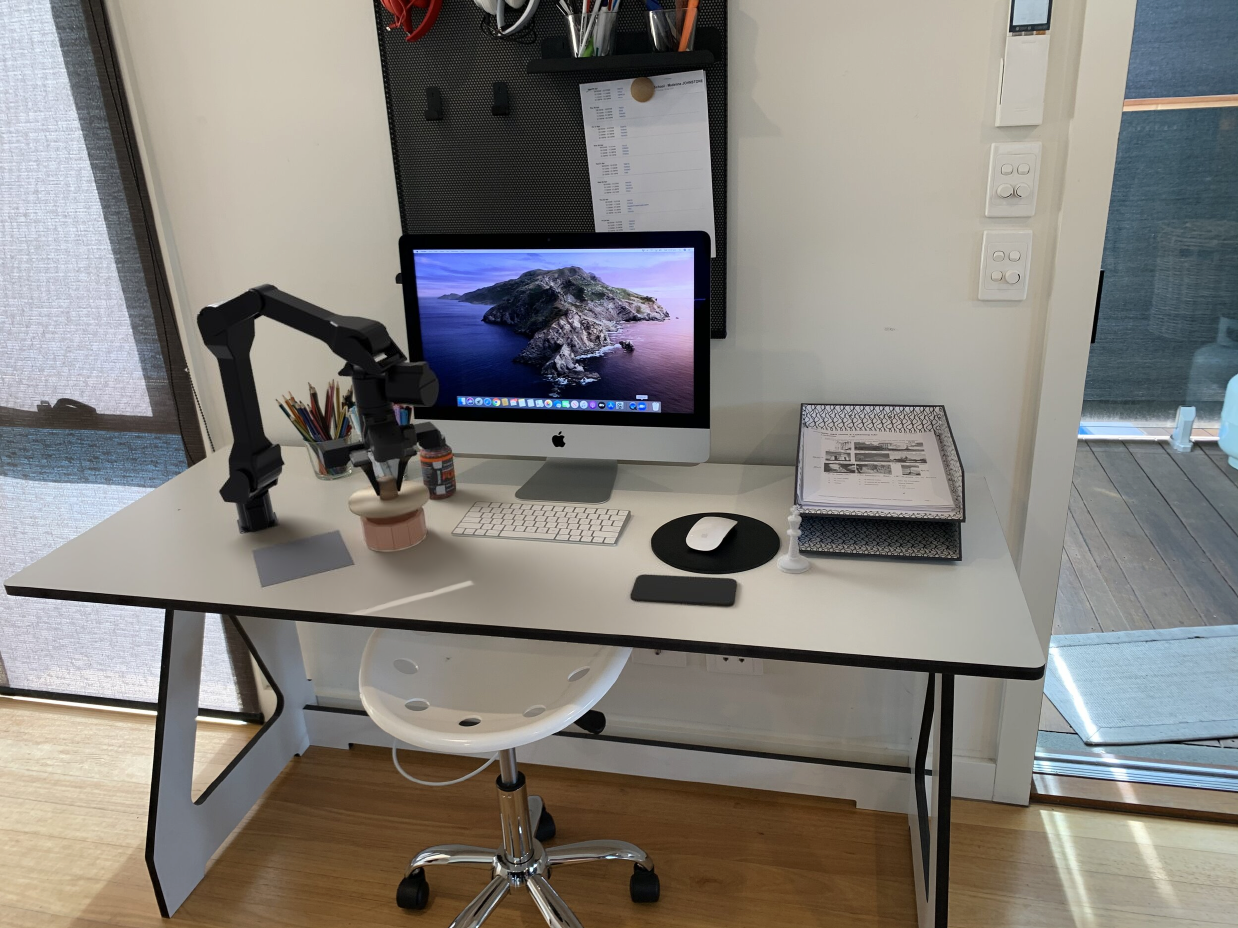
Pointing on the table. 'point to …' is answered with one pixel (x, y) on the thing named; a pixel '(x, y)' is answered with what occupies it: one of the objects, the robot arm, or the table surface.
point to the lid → (388, 499)
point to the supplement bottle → (438, 470)
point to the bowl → (394, 531)
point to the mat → (301, 558)
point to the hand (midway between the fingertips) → (388, 493)
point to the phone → (684, 590)
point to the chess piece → (793, 548)
